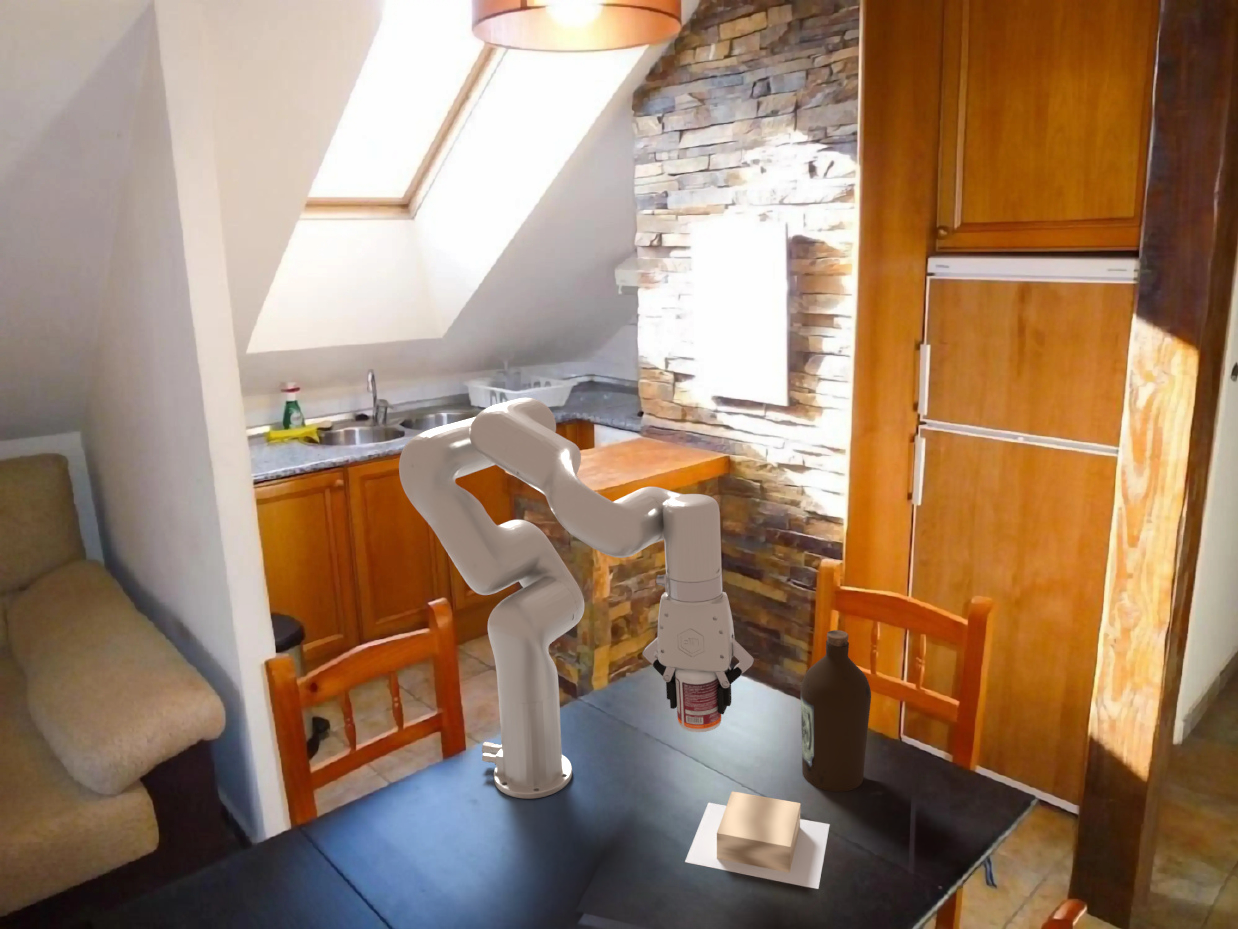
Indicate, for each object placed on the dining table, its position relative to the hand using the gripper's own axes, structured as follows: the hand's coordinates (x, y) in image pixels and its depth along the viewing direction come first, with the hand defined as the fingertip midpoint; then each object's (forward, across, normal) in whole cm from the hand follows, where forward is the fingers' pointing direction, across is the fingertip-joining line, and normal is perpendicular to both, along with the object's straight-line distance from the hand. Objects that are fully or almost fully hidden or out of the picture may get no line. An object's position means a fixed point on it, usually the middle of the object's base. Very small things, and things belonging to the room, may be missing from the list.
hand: (699, 705), depth 126 cm
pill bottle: (+3, 0, 0) cm, 3 cm away
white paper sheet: (+21, +8, -1) cm, 22 cm away
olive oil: (+21, +16, +19) cm, 33 cm away
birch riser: (+20, +8, -1) cm, 21 cm away
